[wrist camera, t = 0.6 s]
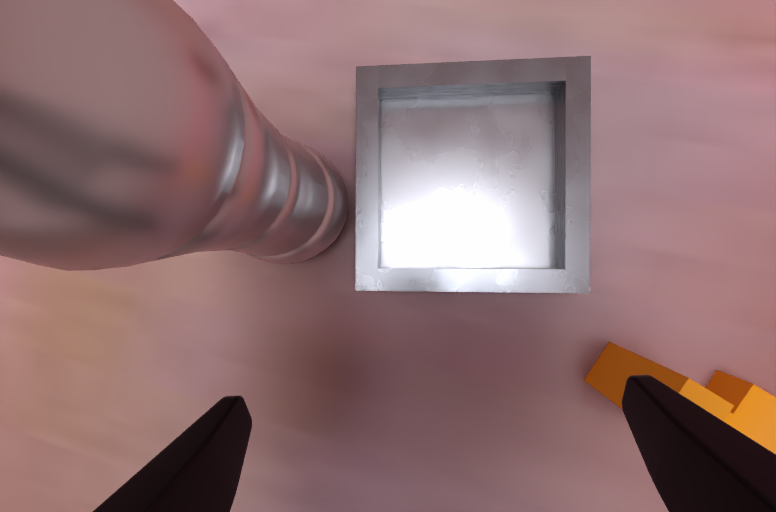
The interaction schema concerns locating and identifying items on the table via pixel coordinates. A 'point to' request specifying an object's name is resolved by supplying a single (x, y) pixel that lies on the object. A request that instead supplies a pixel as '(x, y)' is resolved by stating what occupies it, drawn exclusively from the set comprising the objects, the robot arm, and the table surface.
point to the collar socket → (474, 176)
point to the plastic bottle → (144, 145)
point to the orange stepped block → (692, 392)
